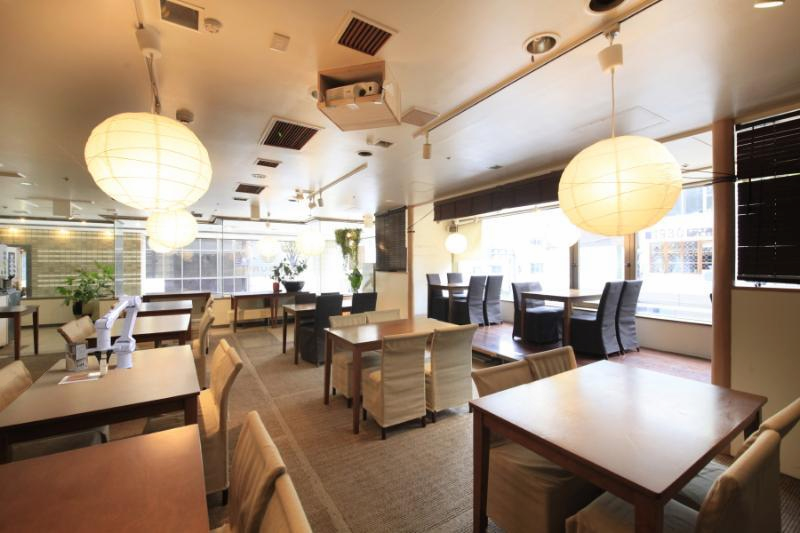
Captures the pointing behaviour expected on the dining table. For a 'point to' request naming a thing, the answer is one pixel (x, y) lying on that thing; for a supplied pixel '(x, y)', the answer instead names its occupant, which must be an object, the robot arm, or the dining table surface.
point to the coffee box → (76, 356)
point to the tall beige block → (103, 366)
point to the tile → (78, 377)
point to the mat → (91, 377)
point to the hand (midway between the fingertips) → (103, 363)
